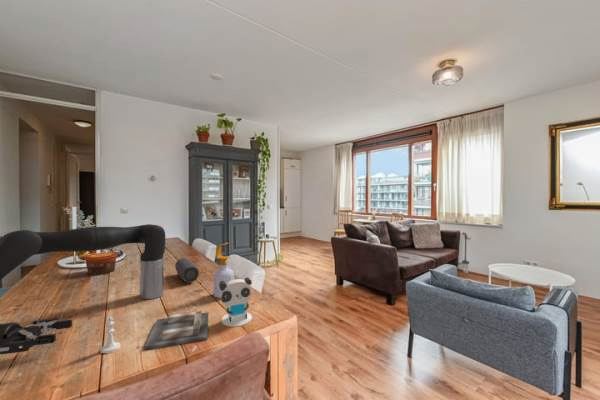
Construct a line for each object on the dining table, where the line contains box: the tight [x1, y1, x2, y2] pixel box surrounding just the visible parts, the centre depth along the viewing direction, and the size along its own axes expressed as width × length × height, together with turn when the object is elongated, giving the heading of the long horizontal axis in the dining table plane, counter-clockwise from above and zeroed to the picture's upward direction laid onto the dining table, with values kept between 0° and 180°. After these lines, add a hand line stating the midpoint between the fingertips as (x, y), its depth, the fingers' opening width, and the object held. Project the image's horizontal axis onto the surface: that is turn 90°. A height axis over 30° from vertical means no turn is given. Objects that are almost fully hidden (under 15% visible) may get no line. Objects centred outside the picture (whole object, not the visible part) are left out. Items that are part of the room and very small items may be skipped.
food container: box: [83, 251, 118, 276], centre depth 156 cm, size 16×16×11 cm
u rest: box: [144, 310, 209, 351], centre depth 90 cm, size 18×18×3 cm
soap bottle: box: [213, 242, 235, 299], centre depth 121 cm, size 9×9×25 cm
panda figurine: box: [219, 277, 253, 328], centre depth 98 cm, size 12×11×15 cm
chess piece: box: [99, 316, 121, 354], centre depth 79 cm, size 5×5×10 cm
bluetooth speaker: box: [174, 257, 200, 283], centre depth 144 cm, size 23×9×10 cm, turn 34°
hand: (64, 330), depth 75 cm, fingers open, 8 cm apart
